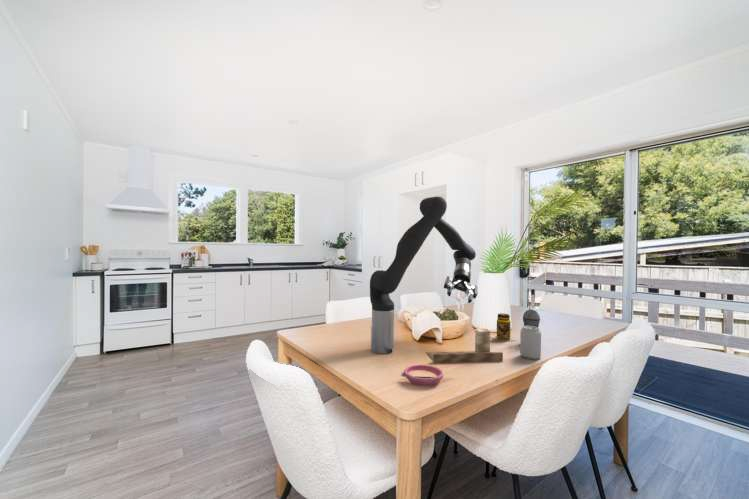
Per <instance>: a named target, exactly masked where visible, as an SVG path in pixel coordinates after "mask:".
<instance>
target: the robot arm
mask: <svg viewBox="0 0 749 499" xmlns="http://www.w3.org/2000/svg"><path fill="white" fill-rule="evenodd" d="M447 208H448V205H447V200H446V199H445V198H444V197H443V196H433V197H426V198H423V199H422V200H421V201H420V203H419V211H420V213H421V215H422V217H421V218H420V219H419V220H418V221H417V222H415V223H414V224H413V225H411V226H410V227H409V228H408V229H406V231H405V232H404V233H403V235H402V236H401V237H400V239H399V241H398V242H397V245H396V251H395V256H394V258H393V261H392V262H391V264H390V265H389V266H388V268H387V269H386V270H383V269H381V270H380V269H378V270H375V271H374V272H373V273H372V274H371V276H370V279H369V300H370V303H371V325H370V350H371V353H372V354H382V355H384V354H385V355H387V354H391V353H393V349H394V348H395V345H394V344H395V342H394V341H395V340H394V339H395V336H394V334H395V303H394V302H393V300H392V299H391V296H390V294H392V293H394V292H395V291H396V290H397V289H398V287H399V285H400V283H401V281H402V279H403V277H404V275H405V272H407V270H408V268H409V266H410V264H411V263H412V261H413V260H414V258H415V256H416V255H417V254H418V252H419V250H420V249H421V247H422V246H423V244H424V242H426V240H427V238H428V236H429V235H430V234H431V232H432V230H433V229H434V228H435V229H436V231H437V232H438V233H439V234H440V235H441V236H442V238H443V239H444V241H445V242H446V243H447V246H449V247H450V249H451V250H453V251H454V253H453V254H452V256H453V259H454V262H455V267H454V270H453V275H452V278H451V277H450V275H448V276H447V277H446V278H445V281H444V284H443V289H446V290H447V293H446V295H447V296H448V297H451V295H452V291H455V290H457V291H461V292H463V293H464V294H465V295H467V297H468V298H467V303H468V304H470V303H472V302H473V300H474V299H477V296H478V293H479V292H478V286H477V285H476V284H475V285H472V284H471V276H472V271H471V269H472V263H471V261H473V260H475V258H476V256H477V255H476V251H475V249H474V247H472V246H471V245H470V244H468V243H467V242H466V241H465V240H464V239H463V238H462V236H461V235H460V233H459V231H458V230H457V229H456V228H455V227H454V226H452V225H450V223H449V222H447V221H446V220H444V219H443V216H444V215H445V213H446V212H447Z"/></svg>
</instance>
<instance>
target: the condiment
mask: <svg viewBox="0 0 749 499" xmlns="http://www.w3.org/2000/svg"><path fill="white" fill-rule="evenodd" d="M510 318H511V317H510V314H509V313H497V319H496V336H490V339H495V340H497V341H500V342H511V341H514V339H513V338H511V320H510Z"/></svg>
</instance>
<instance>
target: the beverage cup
mask: <svg viewBox="0 0 749 499" xmlns="http://www.w3.org/2000/svg"><path fill="white" fill-rule="evenodd" d="M530 302H531V300H530V299H528V308H529V309H527V310H525V312H524V313H523V315H522V320H523V326H535V327H538V328H540V327H539V325H540V322H541V317H540V315H539V313H538V311H537V310H535V309H531V303H530Z"/></svg>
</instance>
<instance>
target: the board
mask: <svg viewBox="0 0 749 499" xmlns="http://www.w3.org/2000/svg"><path fill="white" fill-rule="evenodd" d="M425 354H426V355H427V356H428V358H429V359H430V360H431V361H432V362H433V363H434V364H445V363H447V364H449V363H451V364H452V363H454V364H455V363H479V362H483V363H486V362H501V363H504V362H503V361H504V356H503V354H504V352H502V351H490V352H475V350H466V351H464V350H463V351H430V352H429V351H427V352H425Z"/></svg>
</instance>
